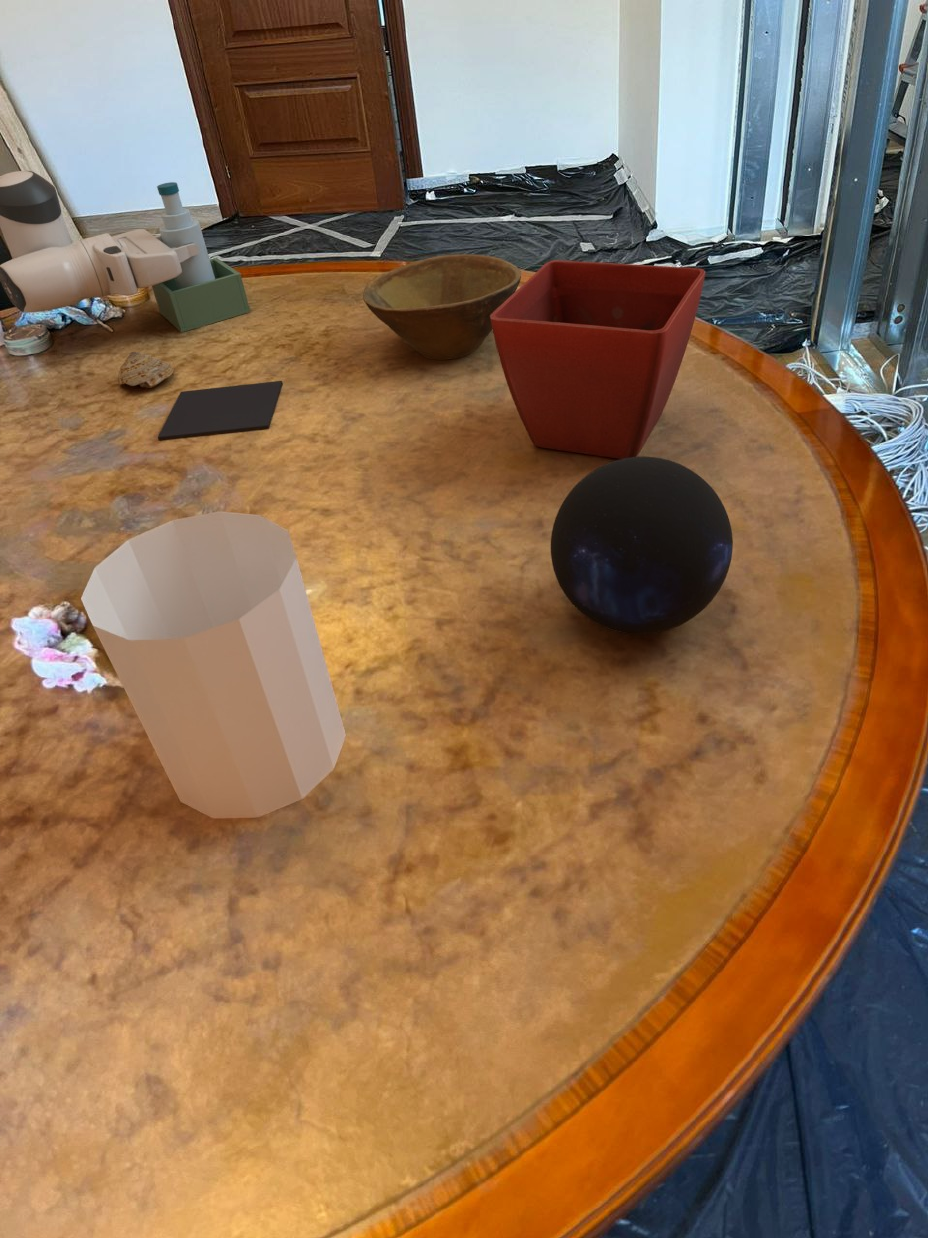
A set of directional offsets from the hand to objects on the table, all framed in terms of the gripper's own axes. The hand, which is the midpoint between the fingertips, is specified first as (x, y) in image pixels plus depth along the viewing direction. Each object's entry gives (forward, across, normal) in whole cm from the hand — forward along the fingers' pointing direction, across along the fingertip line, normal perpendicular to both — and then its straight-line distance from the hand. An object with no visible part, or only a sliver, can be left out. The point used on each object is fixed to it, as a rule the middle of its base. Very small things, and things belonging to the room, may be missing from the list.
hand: (189, 242), depth 144 cm
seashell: (-18, +23, -12) cm, 31 cm away
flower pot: (+23, +81, -12) cm, 85 cm away
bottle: (-1, 0, -11) cm, 11 cm away
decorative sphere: (+4, +110, -12) cm, 111 cm away
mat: (-12, +41, -12) cm, 44 cm away
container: (-31, +104, -12) cm, 109 cm away
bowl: (+23, +45, -12) cm, 52 cm away
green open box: (-1, 0, -12) cm, 12 cm away
